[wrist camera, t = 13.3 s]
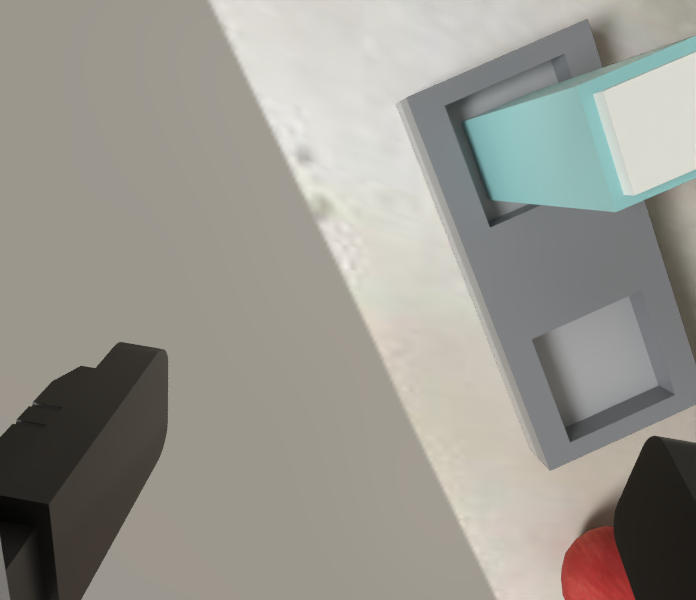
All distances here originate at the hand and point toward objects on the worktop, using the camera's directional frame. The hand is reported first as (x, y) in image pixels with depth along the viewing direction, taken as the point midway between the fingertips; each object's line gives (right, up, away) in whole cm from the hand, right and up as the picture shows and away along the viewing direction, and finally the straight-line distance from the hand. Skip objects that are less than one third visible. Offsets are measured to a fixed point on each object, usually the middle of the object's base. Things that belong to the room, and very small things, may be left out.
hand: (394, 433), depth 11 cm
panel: (+10, +5, +23) cm, 25 cm away
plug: (+7, +10, +20) cm, 24 cm away
